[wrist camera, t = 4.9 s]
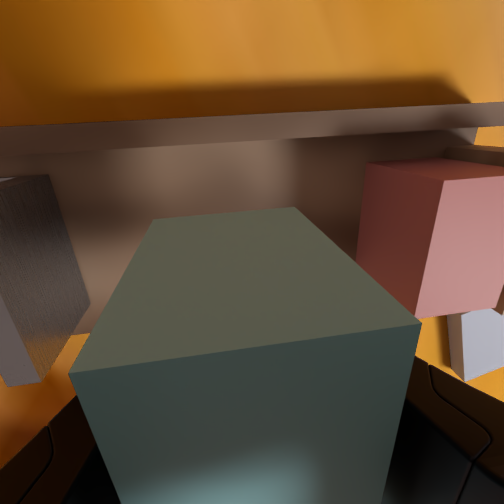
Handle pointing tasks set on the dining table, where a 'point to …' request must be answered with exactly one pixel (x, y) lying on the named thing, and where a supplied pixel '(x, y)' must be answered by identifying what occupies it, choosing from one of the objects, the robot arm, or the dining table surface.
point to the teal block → (246, 367)
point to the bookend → (35, 280)
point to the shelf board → (227, 171)
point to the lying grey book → (476, 342)
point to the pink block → (434, 233)
